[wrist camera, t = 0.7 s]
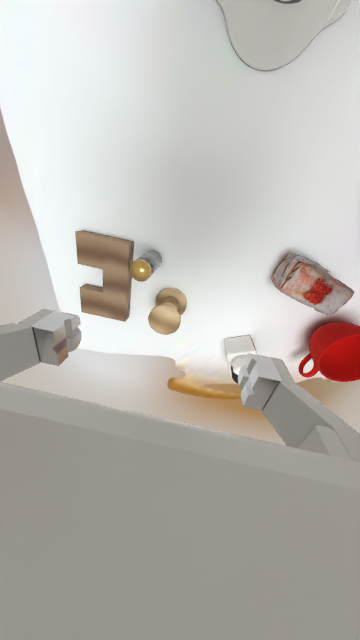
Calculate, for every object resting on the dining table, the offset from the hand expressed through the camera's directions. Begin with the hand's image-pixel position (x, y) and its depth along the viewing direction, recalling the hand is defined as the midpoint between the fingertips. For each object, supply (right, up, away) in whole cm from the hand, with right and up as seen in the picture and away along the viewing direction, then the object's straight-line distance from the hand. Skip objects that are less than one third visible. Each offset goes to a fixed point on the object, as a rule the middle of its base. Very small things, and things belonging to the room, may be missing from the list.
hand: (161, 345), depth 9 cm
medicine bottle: (+17, -6, +46) cm, 49 cm away
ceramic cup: (+37, -4, +42) cm, 56 cm away
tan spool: (-1, +6, +41) cm, 42 cm away
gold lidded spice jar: (-5, +16, +37) cm, 40 cm away
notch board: (-17, +12, +40) cm, 45 cm away
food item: (+28, +11, +35) cm, 46 cm away
